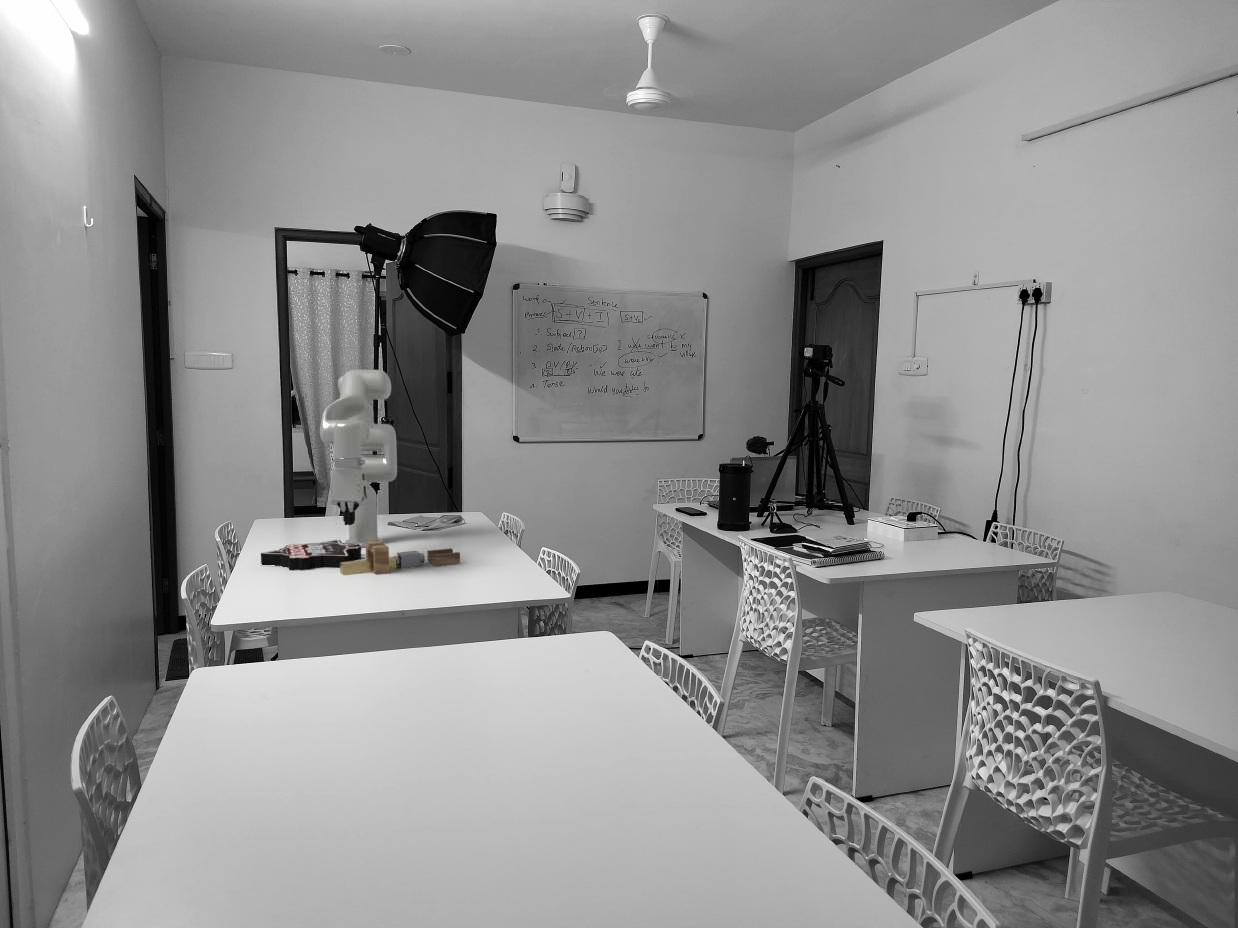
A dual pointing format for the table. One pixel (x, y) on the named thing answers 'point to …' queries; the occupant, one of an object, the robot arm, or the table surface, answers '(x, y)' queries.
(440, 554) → the v block
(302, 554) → the wall plaque
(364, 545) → the robot arm
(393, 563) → the bar
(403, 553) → the grey motor
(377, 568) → the wooden arch block
